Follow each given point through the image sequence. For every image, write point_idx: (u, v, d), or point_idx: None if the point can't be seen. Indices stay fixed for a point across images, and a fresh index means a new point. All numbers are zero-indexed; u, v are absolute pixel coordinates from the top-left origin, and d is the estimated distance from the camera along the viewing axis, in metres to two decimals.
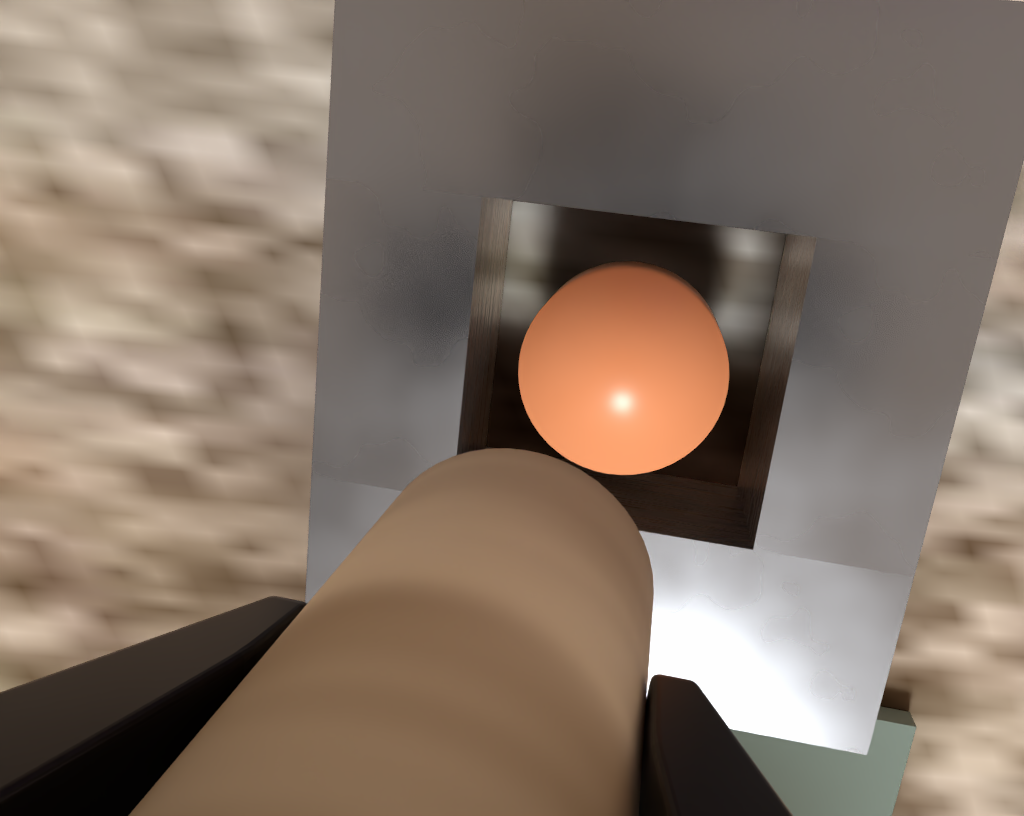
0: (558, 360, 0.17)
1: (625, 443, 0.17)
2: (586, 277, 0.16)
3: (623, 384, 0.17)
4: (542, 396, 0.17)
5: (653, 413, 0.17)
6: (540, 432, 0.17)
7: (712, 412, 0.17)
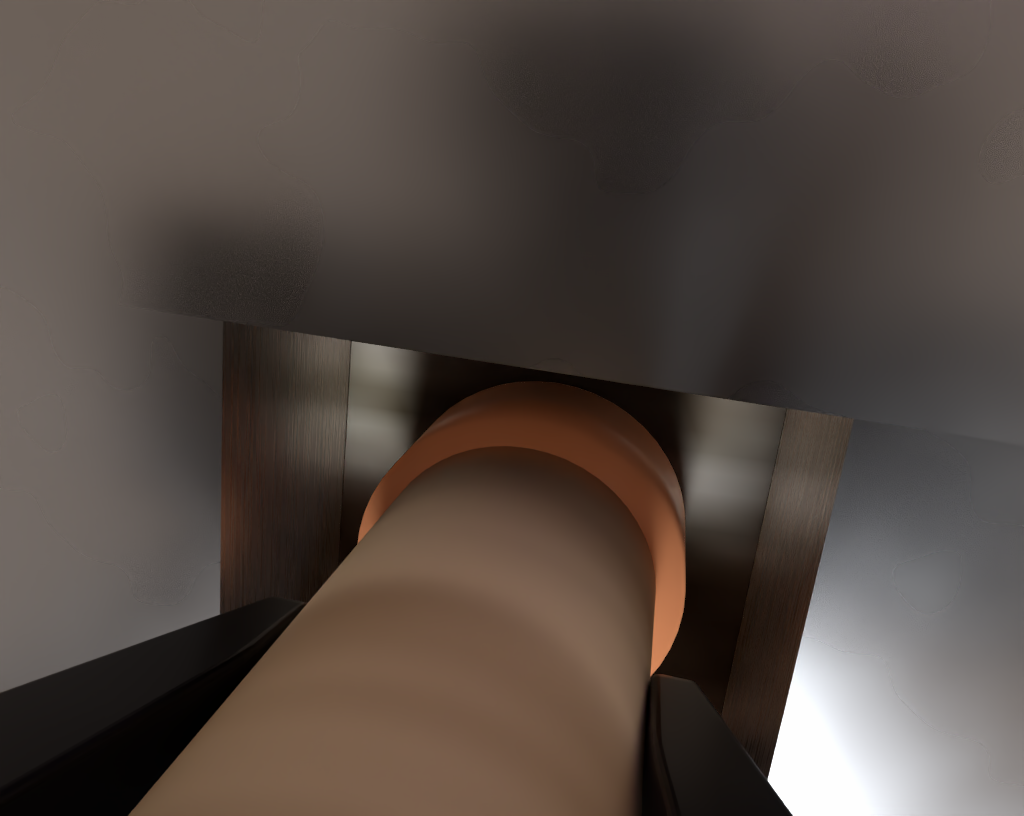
0: None
1: None
2: (455, 428, 0.10)
3: None
4: None
5: None
6: None
7: (659, 641, 0.10)
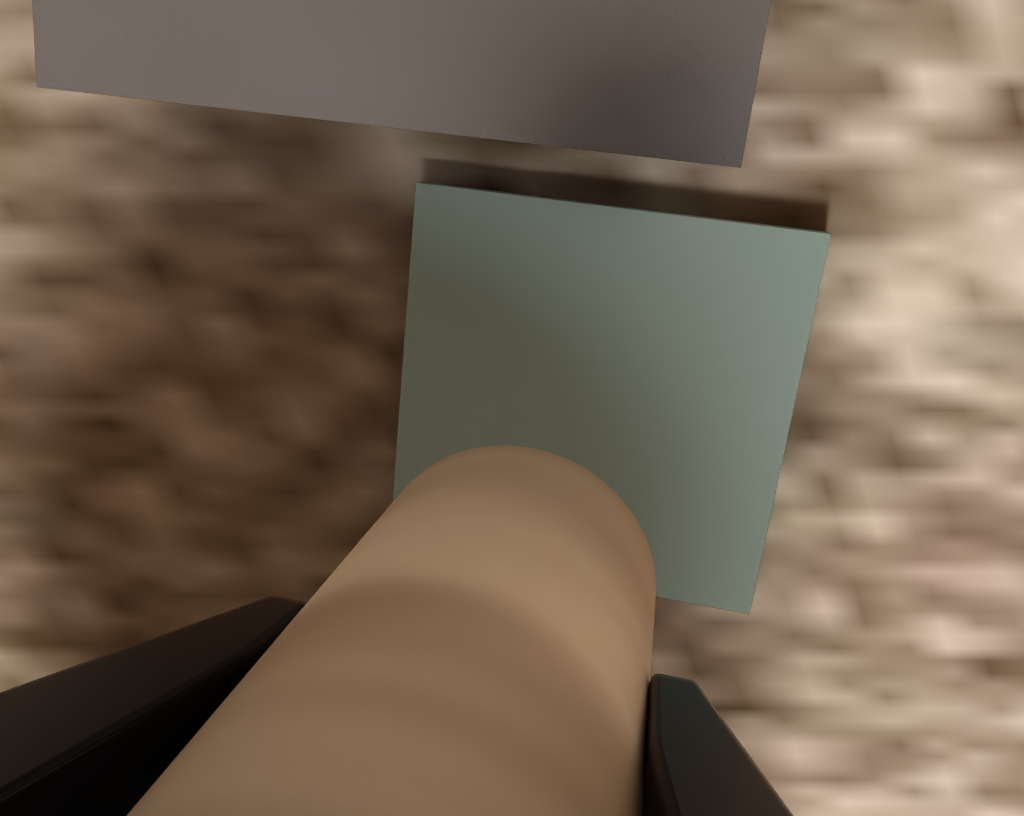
0: None
1: None
2: None
3: None
4: None
5: None
6: None
7: None
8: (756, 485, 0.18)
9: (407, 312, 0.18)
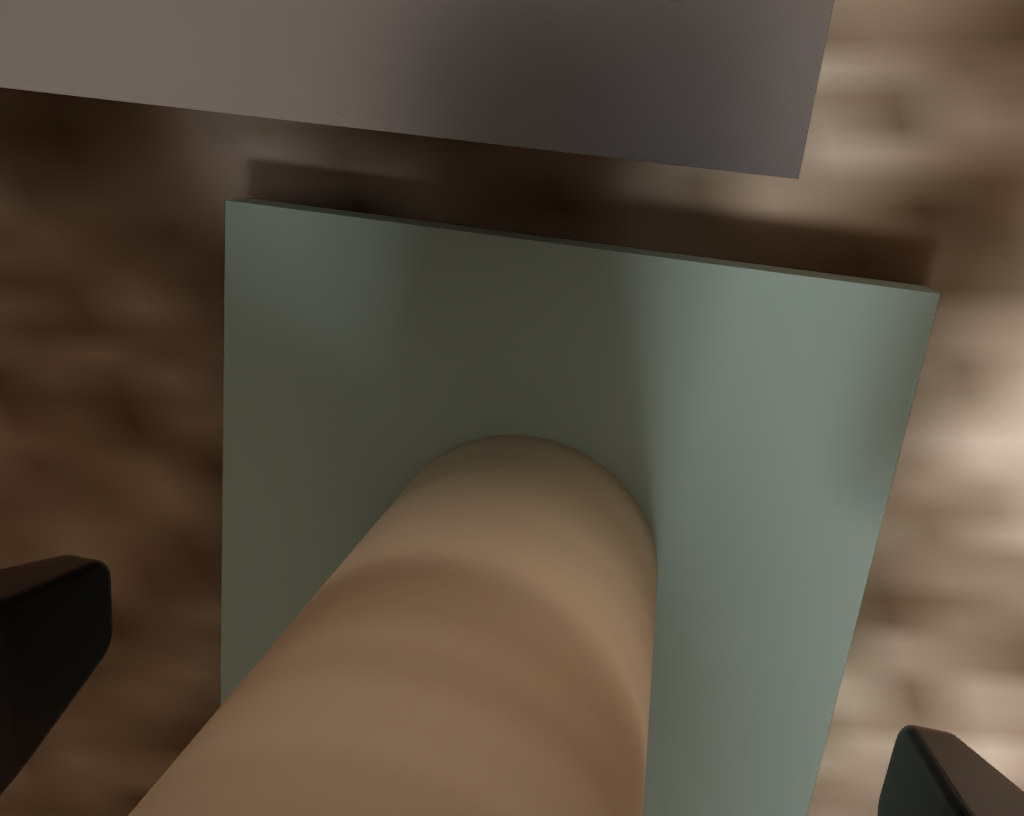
0: None
1: None
2: None
3: None
4: None
5: None
6: None
7: None
8: (800, 704, 0.11)
9: (226, 411, 0.11)
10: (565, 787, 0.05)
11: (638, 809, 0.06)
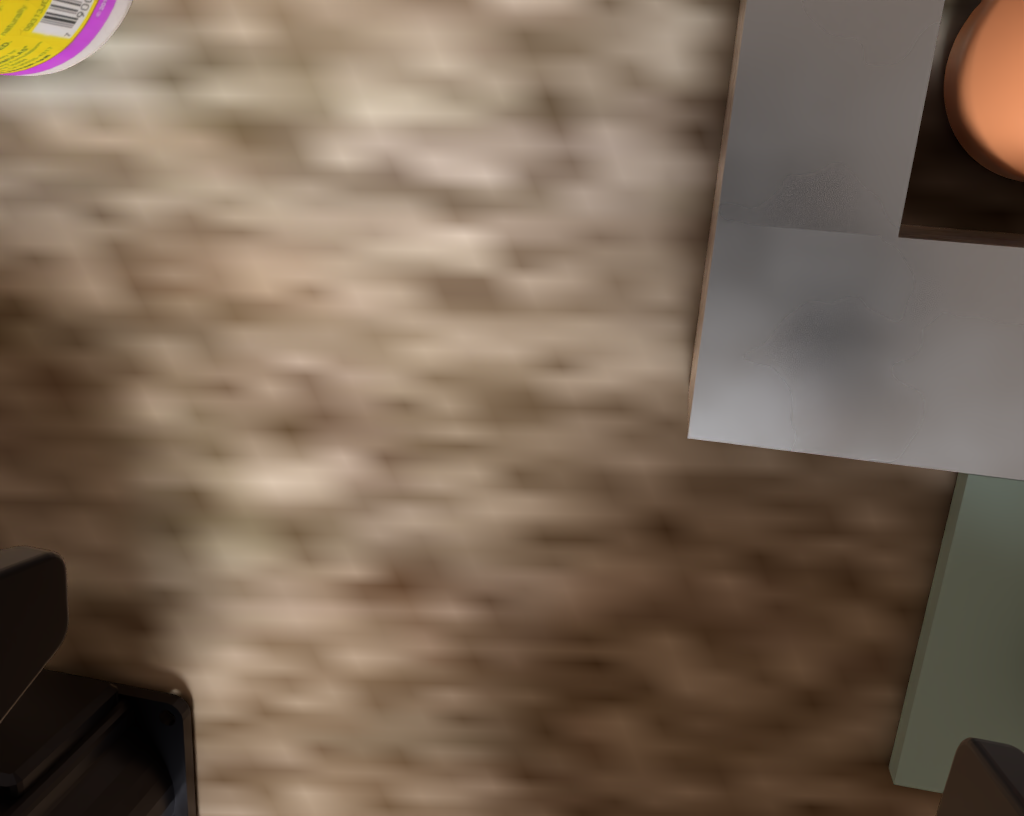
0: (1023, 53, 0.15)
1: None
2: None
3: None
4: (998, 99, 0.15)
5: None
6: (993, 143, 0.15)
7: None
8: None
9: (940, 583, 0.19)
10: None
11: None
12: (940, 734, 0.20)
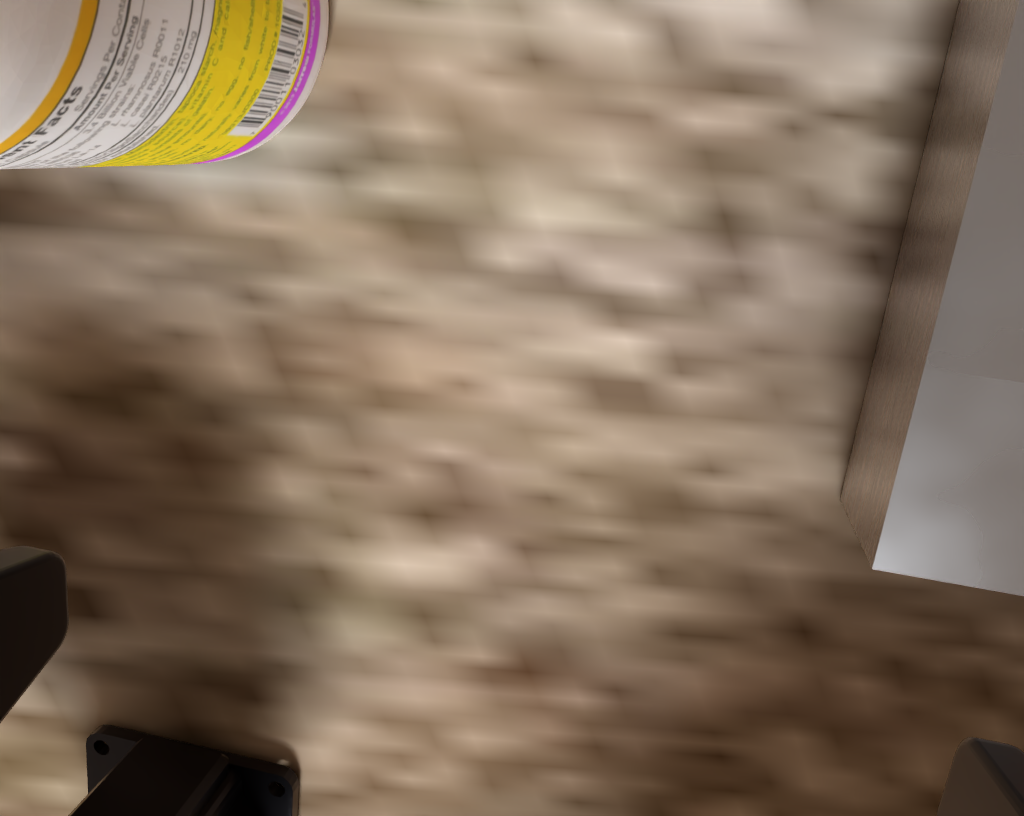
0: None
1: None
2: None
3: None
4: None
5: None
6: None
7: None
8: None
9: None
10: None
11: None
12: None
